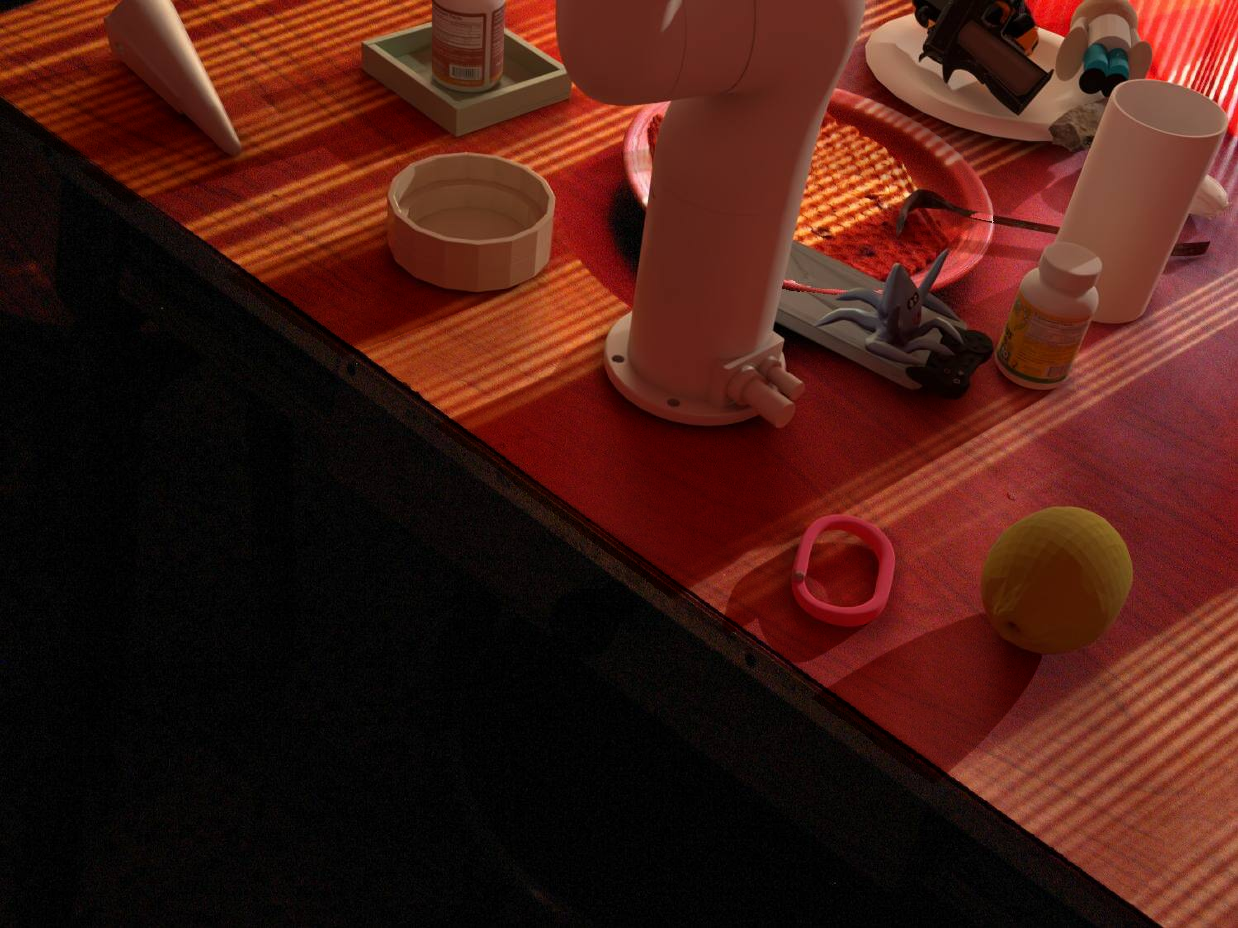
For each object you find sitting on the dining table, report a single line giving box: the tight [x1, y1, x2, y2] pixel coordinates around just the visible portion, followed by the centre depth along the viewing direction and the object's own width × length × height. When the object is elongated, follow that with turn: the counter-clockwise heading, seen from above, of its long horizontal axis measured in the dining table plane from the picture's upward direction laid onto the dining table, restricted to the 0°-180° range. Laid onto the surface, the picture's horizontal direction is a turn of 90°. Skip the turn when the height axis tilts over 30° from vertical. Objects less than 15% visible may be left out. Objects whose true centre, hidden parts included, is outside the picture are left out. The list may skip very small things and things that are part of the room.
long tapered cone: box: [102, 0, 243, 158], centre depth 114 cm, size 6×6×19 cm
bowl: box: [386, 151, 557, 293], centre depth 102 cm, size 12×12×4 cm
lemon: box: [979, 506, 1134, 655], centre depth 79 cm, size 11×8×8 cm
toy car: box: [1189, 174, 1233, 221], centre depth 120 cm, size 5×12×4 cm, turn 44°
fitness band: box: [790, 514, 896, 628], centre depth 83 cm, size 8×6×2 cm
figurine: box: [813, 247, 995, 401], centre depth 95 cm, size 10×12×8 cm
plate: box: [864, 13, 1105, 144], centre depth 131 cm, size 25×25×2 cm
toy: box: [1055, 0, 1154, 97], centre depth 130 cm, size 8×6×15 cm
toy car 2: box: [910, 0, 1040, 57], centre depth 132 cm, size 12×12×3 cm
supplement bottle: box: [994, 242, 1102, 391], centre depth 97 cm, size 5×5×10 cm
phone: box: [774, 239, 969, 391], centre depth 102 cm, size 8×16×1 cm, turn 54°
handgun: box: [918, 0, 1054, 116], centre depth 127 cm, size 3×19×12 cm
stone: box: [1048, 97, 1110, 153], centre depth 122 cm, size 13×5×3 cm, turn 136°
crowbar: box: [895, 188, 1211, 257], centre depth 112 cm, size 26×2×5 cm
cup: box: [1053, 78, 1230, 325], centre depth 103 cm, size 8×8×16 cm
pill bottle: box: [431, 0, 507, 93], centre depth 118 cm, size 6×6×11 cm
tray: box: [360, 21, 573, 138], centre depth 121 cm, size 14×13×3 cm
